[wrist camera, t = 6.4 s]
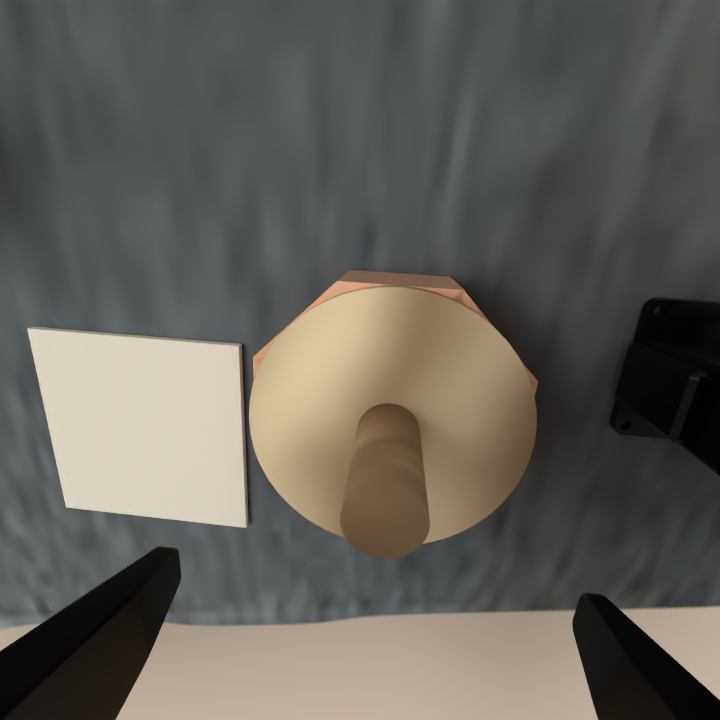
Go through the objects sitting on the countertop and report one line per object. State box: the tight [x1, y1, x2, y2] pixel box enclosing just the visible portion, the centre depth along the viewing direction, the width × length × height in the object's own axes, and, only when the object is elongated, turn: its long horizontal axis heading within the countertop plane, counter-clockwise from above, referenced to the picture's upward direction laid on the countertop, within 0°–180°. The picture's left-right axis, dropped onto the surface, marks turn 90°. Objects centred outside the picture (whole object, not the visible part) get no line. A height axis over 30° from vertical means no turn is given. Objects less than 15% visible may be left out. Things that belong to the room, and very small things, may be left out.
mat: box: [27, 327, 249, 528], centre depth 22 cm, size 11×11×1 cm
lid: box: [249, 285, 537, 558], centre depth 13 cm, size 11×11×6 cm
